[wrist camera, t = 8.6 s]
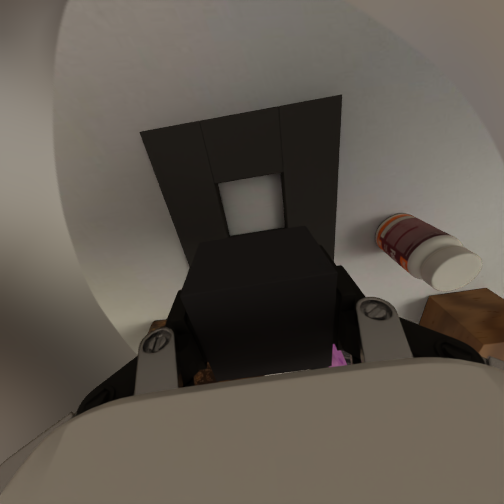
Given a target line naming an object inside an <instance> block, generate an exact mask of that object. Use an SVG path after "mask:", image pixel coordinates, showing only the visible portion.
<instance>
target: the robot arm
mask: <svg viewBox="0 0 504 504" xmlns="http://www.w3.org/2000/svg"><path fill="white" fill-rule="evenodd" d="M319 246H320V247H321V249H322V250H323V252H324V253H325V255H326V256H327V258H328V259H329V261H330V262H331V264H332V265H333V267H334V268H335V270H336V271H337V288H336V303H335V319H334V335H333V344H335V346H336V349H337V351H340V350H344V351H345V352H347V353H349V354H350V361H351V365H344V366H336V367H329V368H321V369H313V370H306V371H298V372H291V373H284V374H276V375H269V376H261V377H254V378H247V379H240V380H232V381H225V382H218V383H211V384H204V385H197V380H196V374H197V373H198V372H199V370H204V369H207V362H208V360H207V358H206V355H205V353H204V351H203V349H202V346H201V344H200V342H199V339H198V337H197V335H196V332H195V330H194V328H193V326H192V323H191V321H190V319H189V316H188V314H187V312H186V309H185V307H184V305H183V303H182V300H181V298H180V294H181V292H182V290H179V291H178V293H177V295H176V298H175V300H174V303H173V305H172V308H171V311H170V313H169V316H168V318H167V321H166V323H165V326H164V327H161V328H158V329H155V330H153V331H151V332H150V333H149V334H147V335H146V336H145V337H144V338H143V340H142V341H141V343H140V346H139V350H138V356H137V357H135V358H134V359H133V360H131V361H130V362H129V363H128V364H126V365H125V366H124V367H122V368H121V369H120V370H118V371H117V372H116V373H115V374H113V375H112V376H111V377H110V378H108V379H107V380H105V381H104V382H103V383H102V384H100V385H99V386H98V387H96V388H95V389H94V390H93V391H91V392H90V393H89V394H88V395H87V396H86V397H85V399H84V400H83V401H82V403H81V405H80V406H79V408H78V410H77V412H76V413H73V412H70V413H69V414H68V415H66V416H65V417H63V418H62V419H61V420H59V421H58V422H57V423H55V424H54V425H53V426H51V427H50V428H49V429H47V430H46V431H45V432H43V433H42V434H41V435H39V436H38V437H36V438H35V439H34V440H32V441H31V442H29V443H28V444H27V445H25V446H24V447H23V448H21V449H20V450H18V451H17V452H16V453H14V454H13V455H12V456H10V457H9V458H8V459H7V460H6V461H4V462H3V463H2V464H1V465H0V504H504V361H503V360H500V359H497V358H494V357H491V356H488V357H487V358H484V357H481V355H480V354H479V353H478V352H477V351H476V350H475V349H474V348H472V347H471V346H469V345H468V344H466V343H464V342H462V341H460V340H458V339H455V338H453V337H450V336H447V335H445V334H442V333H439V332H437V331H434V330H431V329H429V328H426V327H423V326H421V325H418V324H415V323H413V322H410V321H407V320H405V319H402V318H399V317H398V314H397V311H396V309H395V308H394V306H392V305H391V304H390V303H389V302H387V301H385V300H383V299H380V298H376V297H365V296H364V294H363V293H362V292H361V290H360V289H359V288H358V286H357V285H356V284H355V282H354V281H353V280H352V278H351V277H350V275H349V274H348V273H347V271H346V270H345V269H344V267H343V266H341V265H340V266H336V264H335V263H334V262H333V260H332V259H331V257H330V256H329V254H328V253H327V252H326V250H325V249H324V247H323V246H322V245H319ZM190 267H191V266H190ZM189 270H190V269H189ZM187 275H188V274H187ZM186 278H187V277H186ZM185 281H186V280H185ZM184 283H185V282H184ZM183 286H184V285H183ZM182 289H183V288H182Z"/></svg>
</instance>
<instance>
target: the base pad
mask: <svg viewBox="0 0 504 504" xmlns="http://www.w3.org/2000/svg"><path fill="white" fill-rule="evenodd" d="M341 107H342V95H337V96H332V97H326V98H321V99H315V100H310V101H304V102H299V103H294V104H288V105H283V106H279V107H272V108H267V109H261V110H256V111H250V112H245V113H240V114H234V115H229V116H223V117H218V118H213V119H207V120H202V121H196V122H191V123H185V124H180V125H175V126H169V127H164V128H158V129H153V130H148V131H142V132H140V135H141V137H142V140H143V143H144V145H145V148H146V151H147V153H148V156H149V159H150V161H151V164H152V167H153V170H154V172H155V175H156V178H157V180H158V183H159V186H160V188H161V191H162V194H163V196H164V199H165V202H166V204H167V207H168V210H169V212H170V215H171V218H172V221H173V223H174V226H175V229H176V231H177V234H178V237H179V239H180V242H181V245H182V247H183V250H184V253H185V255H186V258H187V261H188V264H189V266H191V264H192V261H193V259H194V256H195V253H196V250H197V248H198V245H199V243H200V242H206V241H212V240H218V239H224V238H231V237H237V236H243V235H249V234H255V233H262V232H268V231H274V230H280V229H287V228H293V227H299V226H306V227H307V228H308V230H309V231H310V233H311V234H312V236H313V237H314V239H315V240H316V241H317V243H318V244H319V245H322V246H323V247H324V249H325V250H326V252H327V253H328V254H329V256H330V257H331V259H332V260H333V262H334V247H335V227H336V207H337V187H338V167H339V147H340V127H341ZM275 173H281V184H282V196H283V208H284V220H285V228H279V229H273V230H267V231H260V232H254V233H248V234H241V235H235V236H230V234H229V230H228V226H227V222H226V217H225V213H224V209H223V204H222V200H221V196H220V192H219V187H218V183H222V182H228V181H234V180H240V179H246V178H252V177H258V176H263V175H269V174H275Z"/></svg>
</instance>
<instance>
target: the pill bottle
mask: <svg viewBox="0 0 504 504" xmlns="http://www.w3.org/2000/svg"><path fill="white" fill-rule="evenodd" d="M375 241H376V243H377V245H378V246H379V247H380V248H381V249H382V250H383V251H384V252H385V253H387V254H388V255H389V256H390V257H391V258H392V259H393V260H395V261H396V262H397V263H398V264H399V265H400V266H402V267H403V268H404V269H405V270H406V271H407V272H409V273H410V274H411V275H412V276H414V277H416V278H418V279H423V280H424V281H425V282H426V283H428V284H429V285H430V286H432V287H433V288H434V289H436V290H438V291H452V290H456V289H458V288H461V287H463V286H465V285H466V284H468V283H469V282H470V281H472V280H473V279H474V278H475V277H476V276H477V274H478V273H479V272H480V270H481V267H482V260H481V258H480V257H479V256H478V255H477V254H475V253H473V252H471V251H470V250H468V249H466V248H464V247H463V245H462V243H461V242H460V241H459V240H458V239H457V238H455V237H453V236H451V235H449V234H447V233H445V232H443V231H441V230H439V229H437V228H435V227H433V226H431V225H430V224H428V223H425V222H424V221H422V220H420V219H418V218H416V217H414V216H412V215H409V214H396V215H393V216H391V217H390V218H388V219H387V220H385V221H384V222H383V223H382V224H381V225H380V226H379V228H378V229H377V232H376V236H375Z"/></svg>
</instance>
